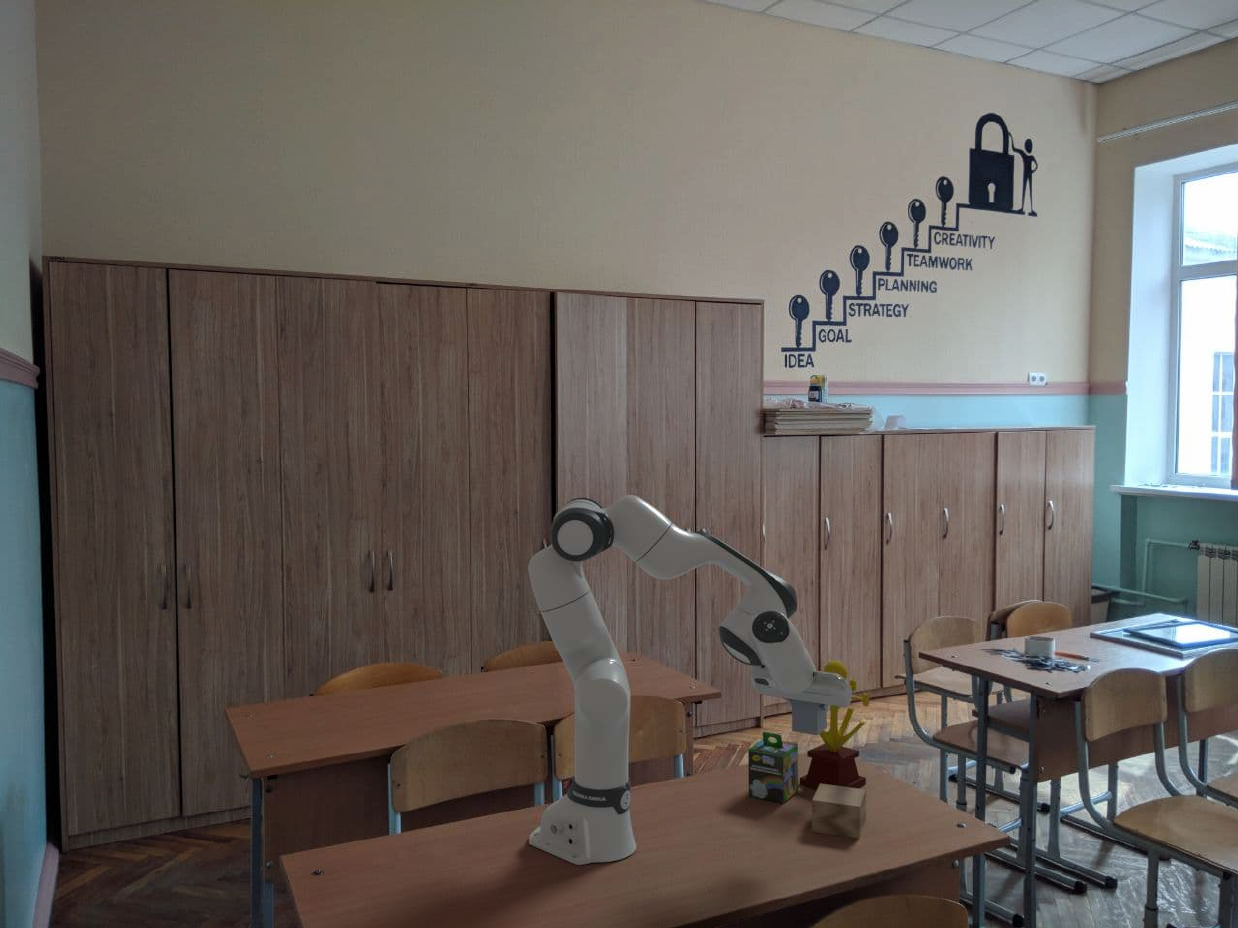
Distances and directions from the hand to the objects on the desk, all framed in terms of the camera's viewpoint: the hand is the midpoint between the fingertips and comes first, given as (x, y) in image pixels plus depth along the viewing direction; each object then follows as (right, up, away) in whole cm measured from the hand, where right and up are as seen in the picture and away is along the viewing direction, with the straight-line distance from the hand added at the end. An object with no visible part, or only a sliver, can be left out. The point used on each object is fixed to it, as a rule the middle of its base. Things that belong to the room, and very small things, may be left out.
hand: (810, 705), depth 205 cm
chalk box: (-4, -27, +25) cm, 37 cm away
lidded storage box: (0, -5, 0) cm, 5 cm away
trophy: (+11, -27, +31) cm, 42 cm away
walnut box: (+8, -28, +7) cm, 30 cm away
